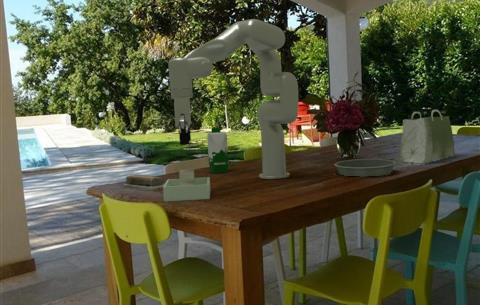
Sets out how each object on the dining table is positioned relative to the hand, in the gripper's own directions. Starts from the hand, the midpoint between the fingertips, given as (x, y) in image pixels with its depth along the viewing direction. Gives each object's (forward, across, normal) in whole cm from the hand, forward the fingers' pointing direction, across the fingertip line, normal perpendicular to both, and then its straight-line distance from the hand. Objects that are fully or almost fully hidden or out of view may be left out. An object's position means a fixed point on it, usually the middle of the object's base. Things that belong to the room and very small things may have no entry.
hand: (185, 142), depth 187 cm
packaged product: (+20, -24, -19) cm, 36 cm away
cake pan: (+21, -26, +70) cm, 78 cm away
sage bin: (+19, 0, -1) cm, 19 cm away
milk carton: (+20, -52, +10) cm, 56 cm away
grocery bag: (+22, -54, +107) cm, 122 cm away
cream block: (+18, 0, 0) cm, 18 cm away
